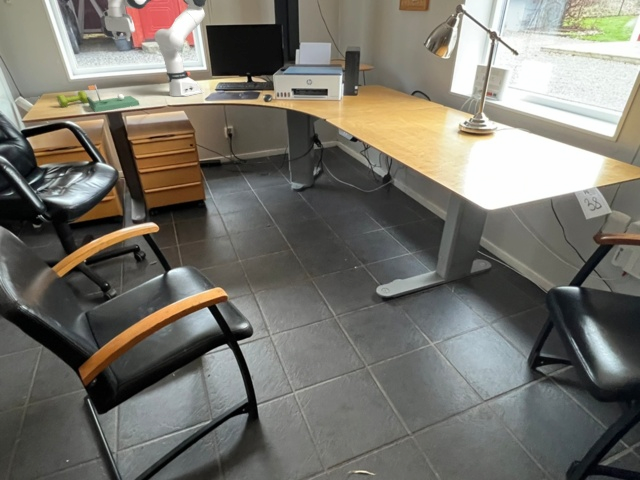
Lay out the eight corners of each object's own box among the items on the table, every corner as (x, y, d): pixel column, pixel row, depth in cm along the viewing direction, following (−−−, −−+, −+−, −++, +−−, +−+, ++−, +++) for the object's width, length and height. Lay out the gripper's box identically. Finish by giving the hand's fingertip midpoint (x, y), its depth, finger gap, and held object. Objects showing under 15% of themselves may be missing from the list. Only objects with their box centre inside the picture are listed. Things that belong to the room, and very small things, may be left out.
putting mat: (131, 99, 250) (126, 80, 243) (139, 105, 238) (134, 84, 231) (89, 106, 237) (82, 85, 231) (95, 112, 225) (88, 90, 219)
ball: (124, 99, 241) (122, 93, 239) (125, 100, 238) (123, 94, 236) (118, 100, 239) (116, 94, 237) (119, 101, 237) (117, 95, 235)
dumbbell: (63, 108, 234) (59, 96, 230) (58, 106, 239) (54, 94, 235) (91, 103, 245) (87, 91, 241) (85, 101, 249) (81, 89, 245)
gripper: (135, 14, 221) (139, 41, 227) (110, 13, 228) (115, 39, 235) (126, 14, 215) (130, 41, 222) (101, 12, 223) (106, 39, 229)
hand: (122, 40), depth 228 cm, fingers open, 8 cm apart
